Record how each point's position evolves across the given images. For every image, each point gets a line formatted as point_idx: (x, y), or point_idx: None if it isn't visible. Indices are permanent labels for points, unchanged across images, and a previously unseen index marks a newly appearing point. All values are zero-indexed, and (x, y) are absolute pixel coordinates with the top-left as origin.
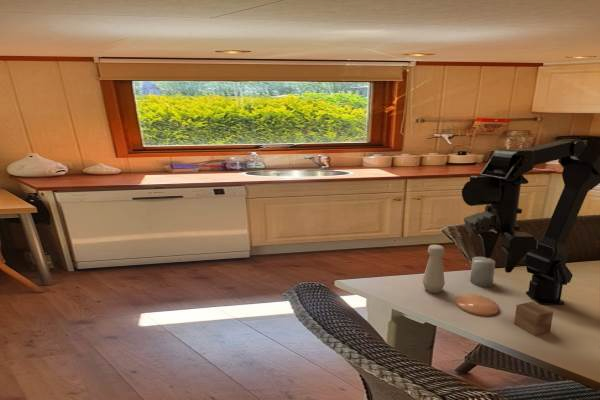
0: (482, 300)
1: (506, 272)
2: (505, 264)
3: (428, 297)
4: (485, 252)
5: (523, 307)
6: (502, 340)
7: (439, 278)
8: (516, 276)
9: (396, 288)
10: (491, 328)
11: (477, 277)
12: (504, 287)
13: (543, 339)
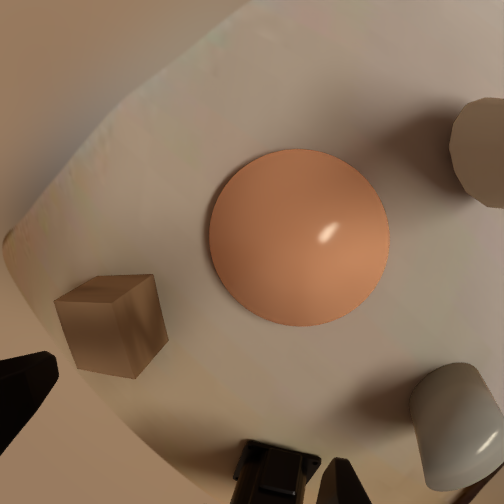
0: (310, 285)
1: (47, 352)
2: (5, 371)
3: (419, 81)
4: (337, 495)
5: (95, 309)
6: (87, 164)
7: (476, 143)
8: (410, 491)
9: (500, 22)
10: (140, 175)
11: (450, 388)
12: (381, 436)
13: None
